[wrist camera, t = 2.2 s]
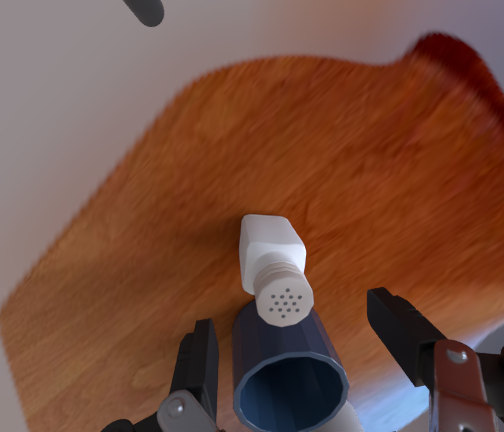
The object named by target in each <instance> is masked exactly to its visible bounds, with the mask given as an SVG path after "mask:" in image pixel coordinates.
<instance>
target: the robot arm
mask: <svg viewBox="0 0 504 432" xmlns="http://www.w3.org/2000/svg"><path fill="white" fill-rule="evenodd" d="M367 317H368V321H369V323H370V325H371V327H372V328H373V330H374V331H375V332H376V334H377V335H378V337H379V338H380V339H381V341H382V342H383V343H384V345H385V346H386V348H387V349H388V350H389V352H390V353H391V354H392V356H393V357H394V359H395V360H396V361H397V363H398V364H399V365H400V367H401V368H402V370H403V371H404V372H405V374H406V375H407V376H408V378H409V379H410V381H411V382H412V383H413V385H414V386H415V387H419V386H424V385H426V387H427V388H428V389H429V432H500V431H499V427H498V422H497V417H496V416H498V417H499V418H500V419H501V420H502V422H503V423H504V347H503V348H502V350H501V354H500V355H499V354H487V353H477V352H475V351H473V350H472V349H471V348H470V347H468V346H467V345H465V344H463V343H461V342H458V341H455V340H449V339H447V338H446V337H445V336H444V335H443V334H442V333H441V332H440V331H439V330H438V329H437V328H436V327H435V326H434V325H433V324H432V323H431V322H429V321H428V320H427V319H426V318H425V317H424V316H422V314H421V313H420V312H419V311H418V310H416V308H415V307H414V306H413V305H412V304H411V303H409V302H408V301H407V300H405V299H403V298H401V297H399V296H398V295H396V296H393V295H392V294H391V293H390V292H389V291H388V290H387V289H386V288H384V287H380V288H375V289H369V290H368V291H367ZM178 353H179V354H178V356H177V362H176V365H175V370H174V374H173V379H172V383H171V388H170V392H169V395H168V396H167V397H166V398H165V399H164V400H163V402H162V403H161V404H160V406H159V409H158V411H157V412H155V413H154V414H153V415H151V416H149V417H147V418H145V419H143V420H142V421H140V422H138V423H136V424H134V425H133V424H132V423H131V422H130V421H129V420H127V419H120V420H116V421H114V422H112V423H110V424H109V425H107V426H106V427H105V428H104V429H103V430H102V431H101V432H226V431H225V430H224V429H222V430H219V429H218V427H217V426H216V415H217V389H218V364H219V349H218V342H217V338H216V333H215V329H214V325H213V321H212V319H211V318H208V319H203V320H197V321H196V324H195V330H194V332H193V333H187V334H186V335H185V337H184V338H183V340H182V341H181V343H180V347H179V352H178ZM394 432H396V431H394Z"/></svg>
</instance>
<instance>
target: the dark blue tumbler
mask: <svg viewBox="0 0 504 432" xmlns="http://www.w3.org/2000/svg"><path fill="white" fill-rule="evenodd" d="M232 381H233V409H234V411H235V413H236V415H237V416H238V418H239V420H240V422H241V423H242V424H243V425H245V426H246V427H248V428H249V429H251V430H252V431H254V432H310V431H313V430H316V429H318V428H319V427H321V426H322V425H324V424H325V423H327V422H328V421H330V420H331V419H333V418H334V417H335V416H336V415H337V413H338V412H339V411H340V409H341V408H342V407H343V405H344V404H345V402H346V399H347V395H348V390H349V382H348V379H347V376H346V373H345V370H344V368H343V366H342V364H341V361H340V359H339V357H338V355H337V353H336V351H335V349H334V347H333V345H332V343H331V341H330V339H329V337H328V335H327V333H326V331H325V329H324V327H323V325H322V322H321V320H320V318H319V316H318V314H317V313H316V312H315V310H314V309H313V307H312V308H311V310H310V312H309V314H308V316H306V317H305V318H304V319H302V320H301V321H299V322H298V323H296V324H294V325H289V326H284V327H280V326H276V325H271V324H268V323H267V322H266V321H265V320H264V319H263V318H262V317H260V316H259V315H258V311H257V305H256V300H253V301H252V302H250V303H249V304H247V305H246V306H245V307H244V308H243V309H242V310H241V311H240V312H239V313H238V315H237V317H236V318H235V321H234V323H233V326H232Z"/></svg>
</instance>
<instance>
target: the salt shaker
mask: <svg viewBox="0 0 504 432" xmlns="http://www.w3.org/2000/svg"><path fill="white" fill-rule="evenodd" d="M239 257H240V267H241V277H242V286H243V288H244V290H245V291H246V292H248V293H249V294H252V295H255V300H256V305H257V311H258V315H259V316H260V317H262V318H263V319H264V320H265V321H266V322H267V323H268V324H271V325H276V326H280V327H284V326H289V325H294V324H296V323H298V322H299V321H301V320H302V319H304V318H305V317H306V316H308V314H309V312H310V310H311V308H312V306H313V304H314V301H313V291H312V289H311V287H310V285H309V283H308V281H307V279H306V277H305V275H304V274H303V273H304V267H305V259H306V250H305V246H304V244H303V242H302V241H301V239H300V238H299V236H298V235H297V233H296V232H295V230H294V229H293V227H292V226H291V224H290V223H289V221H288V220H287V219H286V218H284V217H282V216H268V215H253V214H249V215H245V216H244V217H243V219H242V222H241V233H240V243H239Z"/></svg>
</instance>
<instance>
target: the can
mask: <svg viewBox="0 0 504 432" xmlns="http://www.w3.org/2000/svg"><path fill="white" fill-rule="evenodd" d="M310 432H364V430H363V427H362V425H361V423H360V421H359V419H358V416H357V414H356V412H355V410H354V408H353V406H352V405H351V404H350V403H349V402H348V401H346V402H345V404H344V405H343V407H342V408H341V409H340V411H339V412H338V413H337V415H336V416H335V417H334V418H333V419H331V420H330V421H328V422H327V423H325V424H324V425H322V426H321V427H319V428H318V429H316V430H313V431H310Z"/></svg>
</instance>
